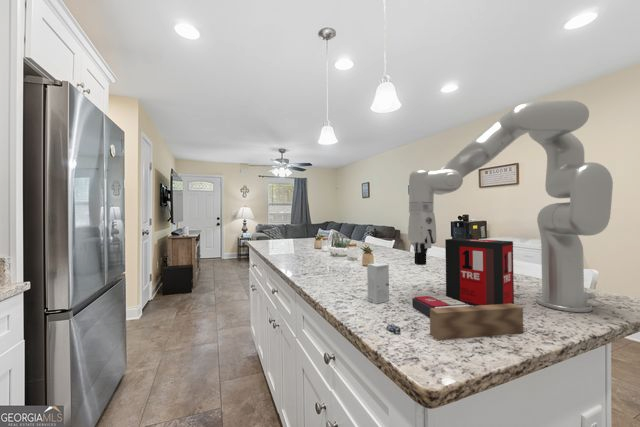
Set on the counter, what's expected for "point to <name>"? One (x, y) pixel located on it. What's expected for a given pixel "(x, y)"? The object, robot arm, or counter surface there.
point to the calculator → (434, 303)
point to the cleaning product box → (479, 271)
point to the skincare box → (378, 282)
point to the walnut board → (475, 321)
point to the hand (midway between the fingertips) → (420, 264)
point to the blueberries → (394, 329)
